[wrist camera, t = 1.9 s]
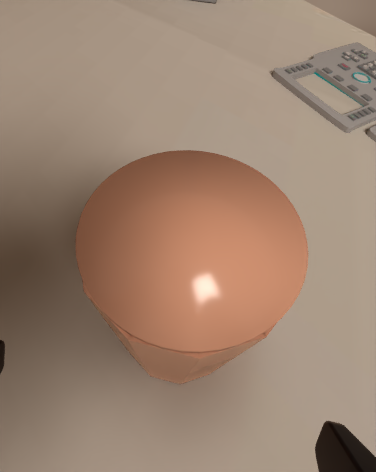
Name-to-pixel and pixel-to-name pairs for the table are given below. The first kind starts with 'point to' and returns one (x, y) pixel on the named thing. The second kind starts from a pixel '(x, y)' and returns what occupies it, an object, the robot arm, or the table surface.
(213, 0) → the hard drive box
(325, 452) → the robot arm
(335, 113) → the office telephone
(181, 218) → the faceted domed cylinder
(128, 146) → the table surface
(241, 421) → the table surface
